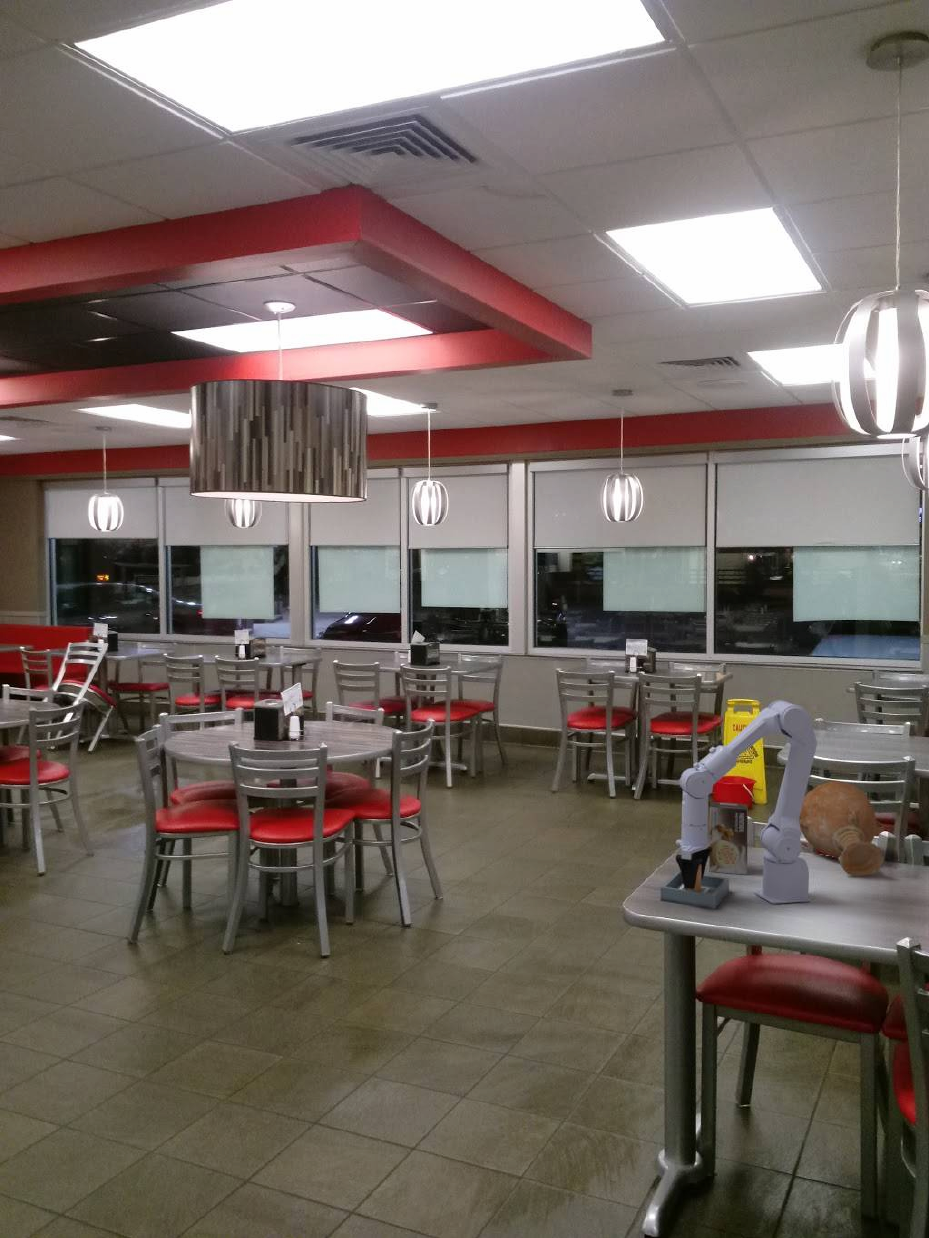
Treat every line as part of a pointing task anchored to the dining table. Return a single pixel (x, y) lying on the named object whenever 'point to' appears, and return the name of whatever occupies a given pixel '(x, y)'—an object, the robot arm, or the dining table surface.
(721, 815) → the coffee box
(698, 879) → the peg
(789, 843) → the robot arm
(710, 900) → the tray box
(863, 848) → the jug
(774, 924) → the dining table surface
